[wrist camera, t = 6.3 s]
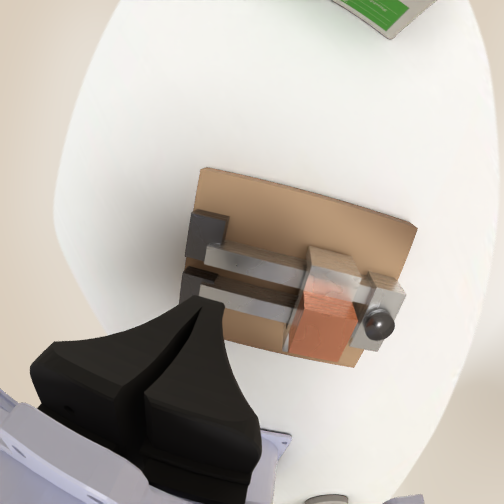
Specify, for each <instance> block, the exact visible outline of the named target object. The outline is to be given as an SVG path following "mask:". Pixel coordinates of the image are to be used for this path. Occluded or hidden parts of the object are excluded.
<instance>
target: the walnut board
mask: <svg viewBox="0 0 504 504" xmlns="http://www.w3.org/2000/svg"><path fill="white" fill-rule="evenodd" d="M196 209H201V210H205V211H210V212H214V213H218V214H222V215H226V216H230V218H229V223H228V228H227V233H226V238H225V239H226V240H230V241H234V242H238V243H242V244H246V245H250V246H254V247H257V248H261V249H265V250H269V251H273V252H277V253H281V254H285V255H289V256H293V257H297V258H301V259H304V260H306V254H307V250H308V247H309V245H310V246H314V247H318V248H321V249H325V250H329V251H333V252H336V253H340V254H344V255H348V256H351V257H352V258H353V260H354V262H355V264H356V266H357V268H358V270H359V273H360V274H362V275H367V272H368V271H371V272H375V273H379V274H382V275H386V276H390V277H394V278H396V280H398V278H399V276H400V273H401V271H402V269H403V266H404V264H405V261H406V259H407V256H408V254H409V251H410V248H411V246H412V243H413V240H414V238H415V235H416V232H417V229H418V228H417V227H415V226H414V225H413V224H411V223H410V222H407V221H404V220H401V219H398V218H395V217H392V216H389V215H386V214H383V213H380V212H377V211H374V210H370V209H367V208H364V207H361V206H358V205H354V204H351V203H348V202H344V201H341V200H337V199H334V198H330V197H327V196H323V195H320V194H316V193H313V192H309V191H305V190H301V189H298V188H294V187H290V186H286V185H282V184H278V183H274V182H270V181H266V180H262V179H258V178H253V177H249V176H245V175H240V174H236V173H231V172H227V171H222V170H217V169H213V168H208V167H207V168H203V169H201V170H200V175H199V181H198V186H197V192H196V198H195V204H194V210H193V211H195V210H196ZM188 266H192V267H195V268H199V269H203V270H207V271H210V272H214V273H218V275H219V276H223V277H227V278H230V279H234V280H238V281H242V282H246V283H250V284H253V285H257V286H261V287H265V288H269V289H273V290H277V291H281V292H285V293H289V294H293V295H297V296H298V294H299V291H300V289H299V288H295V287H291V286H287V285H283V284H279V283H275V282H271V281H267V280H263V279H259V278H255V277H251V276H248V275H244V274H240V273H236V272H232V271H228V270H225V269H221V268H217V267H213V266H209V265H206V264H204V261H201V260H197V259H193V258H189V257H186V263H185V269H186V268H187V267H188ZM352 304H353V306H354V304H355V302H353V301H352ZM222 326H223V337H224V340H228V341H232V342H236V343H239V344H243V345H247V346H251V347H255V348H259V349H263V350H268V351H272V352H276V353H281V354H285V355H290V356H294V357H299V358H304V359H309V360H314V361H319V362H324V363H330V364H335V365H341V366H347V367H353V368H354V367H355V365H356V363H357V362H358V360H359V358H360V356H361V354H362V353H363V351H364V349H359V348H354V347H349V343H347V345H346V347H345V349H344V351H343V353H342V355H341V357H340V359H339V361H338V362H333V361H328V360H322V359H317V358H312V357H307V356H302V355H298V354H293V353H288V352H284V351H282V343H283V329H284V323H283V322H279V321H275V320H271V319H267V318H263V317H259V316H255V315H251V314H247V313H243V312H239V311H236V310H232V309H228V308H225V309H224V314H223V319H222Z"/></svg>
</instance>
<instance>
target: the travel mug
mask: <svg viewBox="0 0 504 504" xmlns="http://www.w3.org/2000/svg"><path fill="white" fill-rule="evenodd" d="M305 504H348V498H347V497H345V496H342V495H324V496H318V497H314V498H311V499H309V500H307V501H306V502H305Z"/></svg>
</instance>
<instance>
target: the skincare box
mask: <svg viewBox="0 0 504 504" xmlns="http://www.w3.org/2000/svg"><path fill="white" fill-rule="evenodd" d="M333 1H334V2H336V3H338V4H339V5H341V6H343V7H344V8H346V9H347V10H349V11H350V12H352V13H353V14H355V15H356V16H358V17H359V18H361V19H362V20H364V21H365V22H367V23H368V24H369V25H371V26H372V27H373V28H375V29H376V30H377V31H379V32H380V33H381V34H383V35H384V36H385V37H387V38H388V39H393V38H394V37H395V36H396V35H397V34H398V33H399V32H400V31H402V30H403V29H404V28H405V27H406V26H407V25H409V24H410V23H411V22H412V21H413V20H414V19H415V18H417V17H418V16H419V15H420V14H421V13H422V12H424V11H425V10H426V9H427V8H428V7H429V6H431V5H432V4H433V3H434V2H435V1H437V0H333Z"/></svg>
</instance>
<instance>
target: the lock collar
mask: <svg viewBox="0 0 504 504" xmlns="http://www.w3.org/2000/svg"><path fill="white" fill-rule="evenodd" d="M306 261H307V270H306V273H305V276H304V279H303V282H302V285H301V288H300V291H299V294H298V297H297V300H296V303H295V306H294V309H293V312H292V315H291V318H290V321H289V323H284V329H283V343H282V351H284V352H288V353H293V354H298V355H302V356H307V357H312V358H317V359H322V360H328V361H333V362H338V361H339V359H340V357H341V355H342V353H343V351H344V349H345V347H346V345H347V343H348V341H349V339H350V337H351V335H352V333H353V331H354V329H355V327H356V325H357V322H358V319H357V316H356V313H355V310H354V307H353V304H352V301H353V299H354V296H355V294H356V291H357V289H358V287H359V284H360V282H361V279H362V277H361V275H360V273H359V270H358V268H357V266H356V264H355V262H354V260H353V258H352V257H351V256H348V255H344V254H340V253H336V252H333V251H329V250H325V249H321V248H318V247H314V246H310V245H309V247H308V250H307V254H306Z"/></svg>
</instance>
